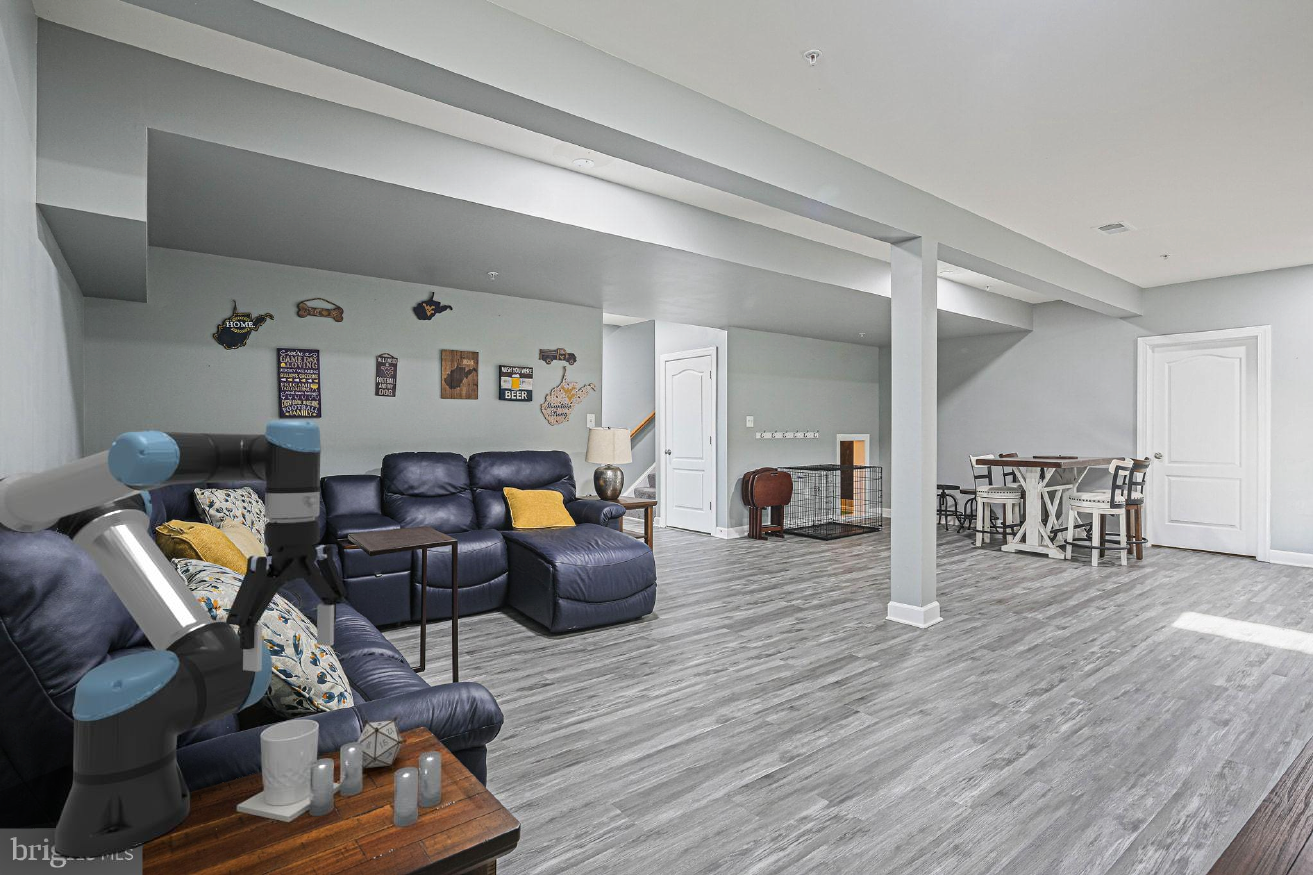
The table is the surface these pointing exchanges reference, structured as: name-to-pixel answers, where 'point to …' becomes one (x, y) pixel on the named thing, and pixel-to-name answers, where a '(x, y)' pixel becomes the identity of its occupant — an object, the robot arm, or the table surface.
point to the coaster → (277, 807)
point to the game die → (380, 743)
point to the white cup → (288, 760)
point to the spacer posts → (353, 783)
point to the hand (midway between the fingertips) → (291, 656)
